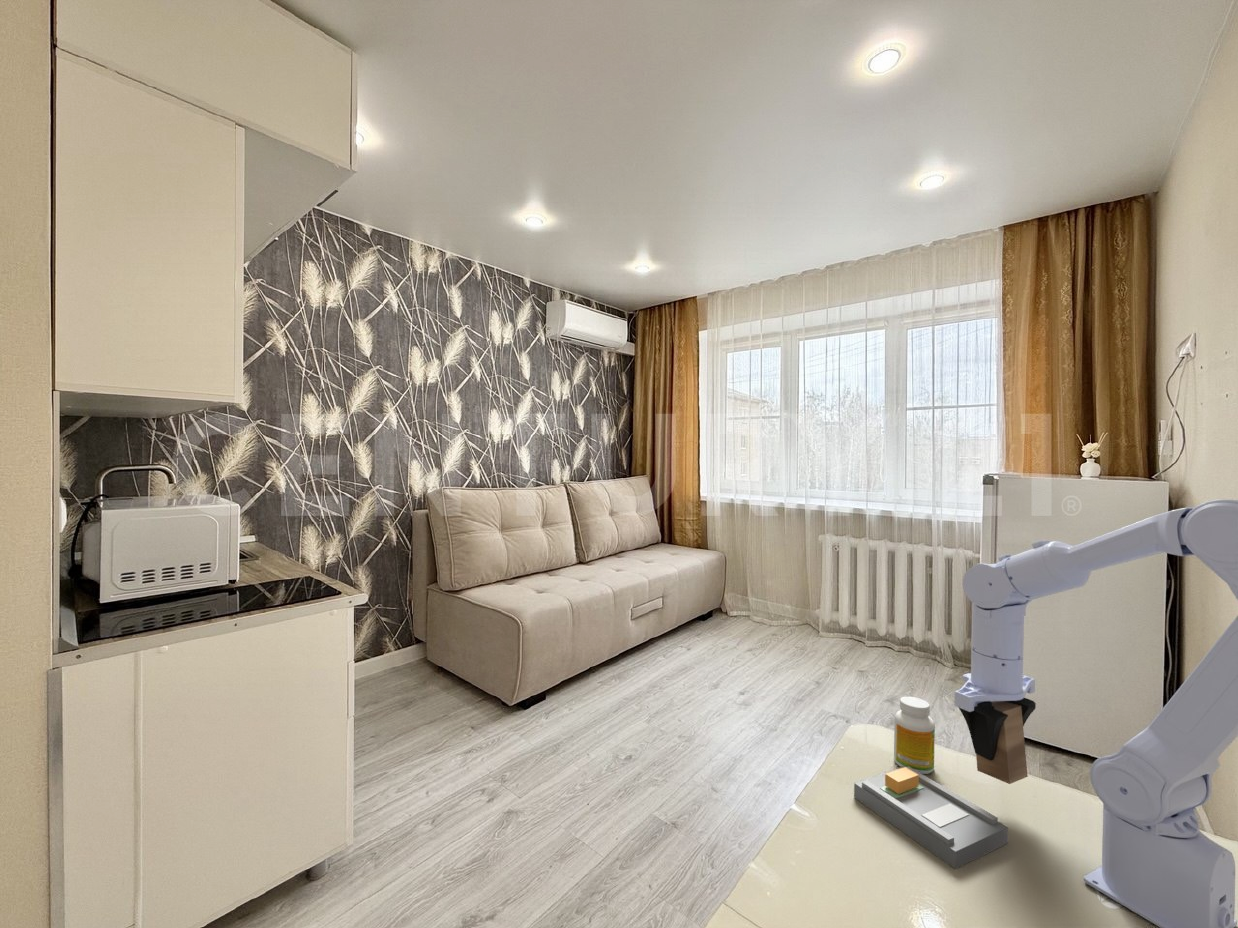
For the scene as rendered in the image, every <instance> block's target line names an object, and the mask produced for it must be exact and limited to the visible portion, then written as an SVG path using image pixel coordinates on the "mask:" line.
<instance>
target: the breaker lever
mask: <svg viewBox="0 0 1238 928" xmlns="http://www.w3.org/2000/svg"><path fill="white" fill-rule="evenodd" d="M885 786H887V787H888V788H890V789H891V790H893V791H894V792H896V793H898V794H900V793H902V792H905V791H908V790H911V789H913V788H916V787H919V775H918V774H916V773H915V772H913V771H911V770H910V769H908V768H906V767H904V768H901V769H898V770H895V771H892V772H889V773H886V774H885Z"/></svg>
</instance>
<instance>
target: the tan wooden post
mask: <svg viewBox="0 0 1238 928" xmlns="http://www.w3.org/2000/svg"><path fill="white" fill-rule="evenodd" d="M992 706H994V709H995V710H997V711H1000V712H1002V713H1005V714H1007V715H1008V717H1007V718H1006V720H1005V721H1004V723H1003V725H1002V727H1001V730H1000V733H999V737H998V743H997V750H996V754H995V757H994V760H991V761H990V760H988V759H986V758H984V757H982V756H980V755H978V754H976V753H975V757H976V768H977V771H978V772H980V773H983V774H985V775H986V776H989V777H992V778H994V779H996V780H999V781H1001V782H1004V783H1006V784H1009V785H1011V784H1013V783H1016V782H1019V781H1021V780H1023V779H1025V778H1027V777H1028V775H1029V774H1028V767H1027V766H1028V765H1027V754H1026V753H1027V752H1026V742H1025V733H1024V732H1025V731H1024V726H1023V720H1022V709H1021V706H1019V705H1016V704H1012V703H1009V702H1006V701H992Z"/></svg>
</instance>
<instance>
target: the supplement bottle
mask: <svg viewBox="0 0 1238 928" xmlns="http://www.w3.org/2000/svg"><path fill="white" fill-rule="evenodd" d="M899 709H900V710H898V711H897V712H895V715H894V736H893V741H894V743H893V760H894V761H895V763H896V764H897V765H898V766H899V768H900V767H903V766H904V767H908V766H909V767H911V768H912V769H914V770H916V771H918V772H919V773H921V774H923V775H926V774H927V775H929V774H931V773H933V772H934V769H935V735H936V734H935V731H936V727H935V721H934V720H933V719H932V718H931V716H930V711H931V708H930V703H929V702H928V701H926V700H925V699H921V698H918V697H916V696H915V697H914V696H902V697H900V699H899Z"/></svg>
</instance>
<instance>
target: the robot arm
mask: <svg viewBox="0 0 1238 928" xmlns="http://www.w3.org/2000/svg"><path fill="white" fill-rule="evenodd" d="M1031 546H1032V549H1028V550H1026V551H1022V552H1020V553H1017V554H1014V555H1011V554H1010V553H1008V554H1003V555H1000V556H999V557H998V561H997V563H991V564H990V563H981V562H980V563H976V564H974V565H973V566H971V567H970V568H969V569H967V570H966V571H965V573H964V575H963V578H962V588H963V592H964V593H965V595H966V597H967V599H968V600H969V601H970V602H971V645H970V646H971V647H970V648H971V649H970V650H971V655H970V659H971V660H970V662H971V663H970V673H969V672H968V673H966V674H965V673H964V674H963V675H962V680H963V681H965V683H964V684H963V685H962V686H961V688H959V689H958V690H954V706H955V707H957V708H958V709H959V711H960V712H961V715H962V716H963V718H964V720H965V722H966V725H967V728H968V731H969V735H970V739H971V742H972V743H971V744H972V746H973V750H974V754H975V755H976V754H978V755H980V756H982V757H984V758H986V759H988V760H990V761H991V760H994V757H995V754H996V750H997V743H998V737H999V733H1000V730H1001V727H1002V725H1003V723H1004V721H1005V720H1006V718H1007V717H1008V715H1007V714H1005V713H1002V712H1000V711H997V710H995V709H994V706H992V701H1006V702H1009V703H1012V704H1016V705H1019V706H1021V709H1022V720H1023V727H1024V726H1025V724H1026V723H1027V720H1028V719H1029V718H1030V716H1031V715H1032V713H1033V712H1034V711H1035V710H1036V704H1037V703H1036V702H1035V701H1034V700H1031V699H1029V698H1026V697H1025V696H1026V694H1035V692H1036V679H1035V678H1033V677H1031V676H1027V675H1024V644H1025V643H1024V638H1025V636H1024V634H1025V632H1024V631H1025V616H1026V610H1027V609H1026V608H1027V606H1028V604H1029V603H1031V602H1032V601H1034V600H1038V599H1041V598H1044V597H1048V596H1051V595H1055V594H1059V593H1063V592H1066V591H1070V590H1074V589H1077V588H1080V587H1084V586H1085V585H1086V584H1087V582H1089V579H1090V576H1091V574H1092V572H1093V571H1097V570H1101V569H1104V568H1109V567H1113V566H1116V565H1121V564H1124V563H1128V562H1132V561H1136V560H1140V559H1143V558H1148V557H1152V556H1156V555H1159V554H1162V553H1163V554H1165V553H1166V554H1169V555H1174V556H1179V557H1186V556H1195V557H1196V558H1197V559H1199V561H1201V562H1202V563H1203V564H1204V565H1205V566H1206V567H1207V568H1209V569H1210V571H1213V573H1214V574H1216V576H1218V577H1219V578H1220V579H1221V580H1222V581H1223V582H1224V583H1226V584H1227V586H1228V587H1229V589H1230V591H1231V592H1232V594H1233V595H1234V597H1235V599H1236V600H1237V601H1238V499H1229V498H1228V499H1226V498H1224V499H1223V498H1221V499H1214V500H1208V501H1205V502H1203V503H1200V504H1198V505H1197V506H1195V507H1191V506H1190V507H1183V508H1177V509H1171V510H1169V511H1166V512H1162V513H1159V514H1156V515H1152V516H1150V517H1147V518H1145V519H1142V520H1140V521H1137V522H1134V523H1132V524H1129V525H1126V526H1122V527H1121V528H1118V529H1115V530H1113V531H1111V532H1107V533H1105V534H1103V535H1100V536H1097V537H1094V538H1092V539H1090V540H1086V541H1084V542H1082V543H1078V544H1076V545H1071V544H1068V543H1066V542H1063V541H1058V540H1053V541H1050V540H1048V539H1043V540H1038V541H1035V542H1032V543H1031ZM1236 738H1238V615H1237V616H1235V618H1234V619H1233V621H1232V622H1231V623H1230V624H1229V625H1228V627H1227V628H1226V629H1225V631H1224V632H1223V633H1222V634H1221V636H1220V637H1219V638H1218V639H1217V640H1216V642H1215V643H1214V644H1213V645H1212V647H1211V648H1210V649H1209V651H1207V653H1206V654H1205V655H1204V656H1203V658H1202V659H1201V660H1200V662H1198V664H1197V666H1196V667H1194V669H1193V670H1192V672H1191V673H1190V674H1189V675H1188V676H1187V678H1186V679H1185V680H1184V682H1183V683H1182V684H1181V685H1180V686H1179V688H1178V689H1177V690H1176V692H1175V693H1174V694H1173V695H1172V696H1171V698H1170V699H1169V700H1168V701H1167V703H1166V704H1165V705H1164V706H1163V707H1162V709H1161V710H1160V711H1159V713H1158V714H1157V715H1156V716H1155V718H1153V720H1152V721H1151V723H1149V725H1148V726H1147V727H1146V728H1144V729H1143V730H1142V731H1140V732H1139V733H1138V734H1136V735H1135V736H1133V737H1132V738H1131V739H1129V740H1128V741H1127V742H1125V743H1124V744H1123V745H1122V746H1121V747H1120V749H1119V750H1118V751H1117V752H1115V753H1112V754H1109V755H1104V756H1101V757H1098V758H1097V759H1095V760H1094V761H1093V763H1092V764H1091V767H1090V769H1089V770H1090V771H1089V779H1090V783H1091V786H1092V789H1093V790H1094V792H1095V795H1096V796H1097V797H1098V799H1099V800H1100V801H1101V802H1102V842H1101V843H1102V846H1101V848H1102V849H1101V866H1098V867H1097V868H1096V869H1094V870H1092V871H1091V872H1089V873H1087V874H1086V875H1084V876H1083V882H1084V883H1086V884H1087V885H1089V886H1090V887H1092V888H1093V889H1095V890H1097V891H1099V892H1100V893H1102V894H1103V895H1105V896H1107V897H1108V898H1110V899H1112V900H1113V901H1115V902H1116V903H1118V904H1119V905H1122V906H1123V907H1125V908H1127V909H1129V910H1130V911H1132V912H1133V913H1135V914H1137V915H1138V916H1140V917H1142V918H1144V919H1145V920H1147V921H1149V923H1152V924H1154V925H1155V926H1157V927H1159V928H1235V927H1236V926H1238V920H1237V919H1236V918H1235V912H1236V910H1235V909H1236V908H1235V907H1236V903H1235V901H1236V898H1235V897H1236V861H1235V857H1234V854H1233V853H1232V852H1231V851H1230V850H1229V849H1228V848H1225V847H1224V846H1222V845H1220V844H1218V843H1217V842H1215V841H1214V840H1212V839H1210V838H1209V837H1208V836H1207V835H1206V834H1204V833H1203V832H1202V831H1201V830H1200V829H1199V828H1200V826H1199V821H1198V818H1197V815H1196V808H1197V807H1199V806H1203V805H1205V804H1206V803H1207V802H1208V801H1209V799H1210V798H1211V796H1212V791H1213V789H1212V778H1213V776H1214V773H1215V772H1217V770H1218V769H1219V768H1220V766H1221V764H1220V761H1219V760H1218V758H1219V757H1221V755H1222V754H1223V753H1224V752H1225V750H1226V749H1227V748H1228V747H1230V745H1231V744H1232V743H1233V742H1234V740H1236Z"/></svg>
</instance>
